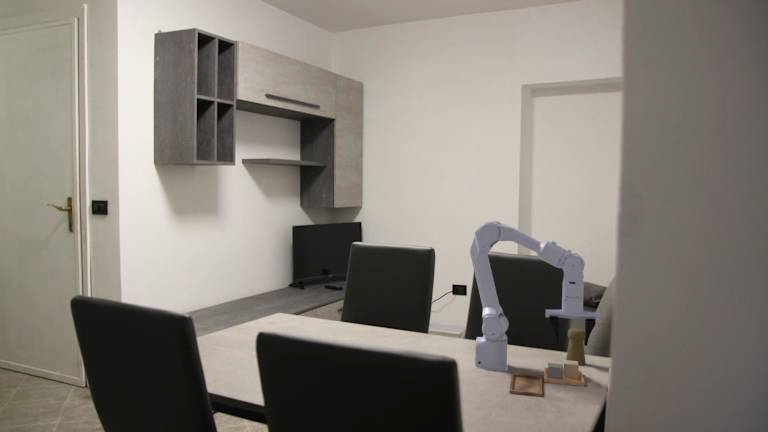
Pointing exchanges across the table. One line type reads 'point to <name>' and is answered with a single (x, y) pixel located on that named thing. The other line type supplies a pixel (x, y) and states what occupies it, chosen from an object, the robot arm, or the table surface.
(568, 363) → the cream pedestal cube
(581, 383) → the terracotta dish
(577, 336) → the cork
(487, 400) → the table surface
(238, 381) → the table surface
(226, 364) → the table surface
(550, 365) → the slate gray cube
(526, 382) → the walnut tray
